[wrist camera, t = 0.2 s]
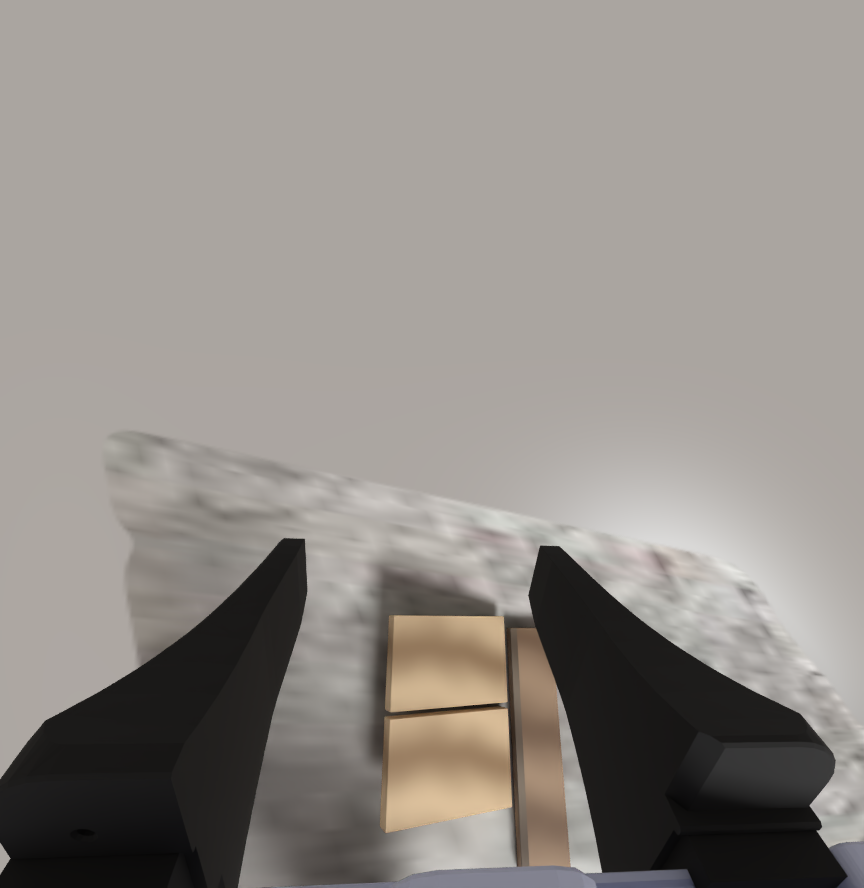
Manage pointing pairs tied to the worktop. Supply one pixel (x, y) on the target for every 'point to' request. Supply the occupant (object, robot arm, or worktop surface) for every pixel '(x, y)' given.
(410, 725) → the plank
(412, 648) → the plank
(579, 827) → the worktop surface
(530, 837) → the floor panel
